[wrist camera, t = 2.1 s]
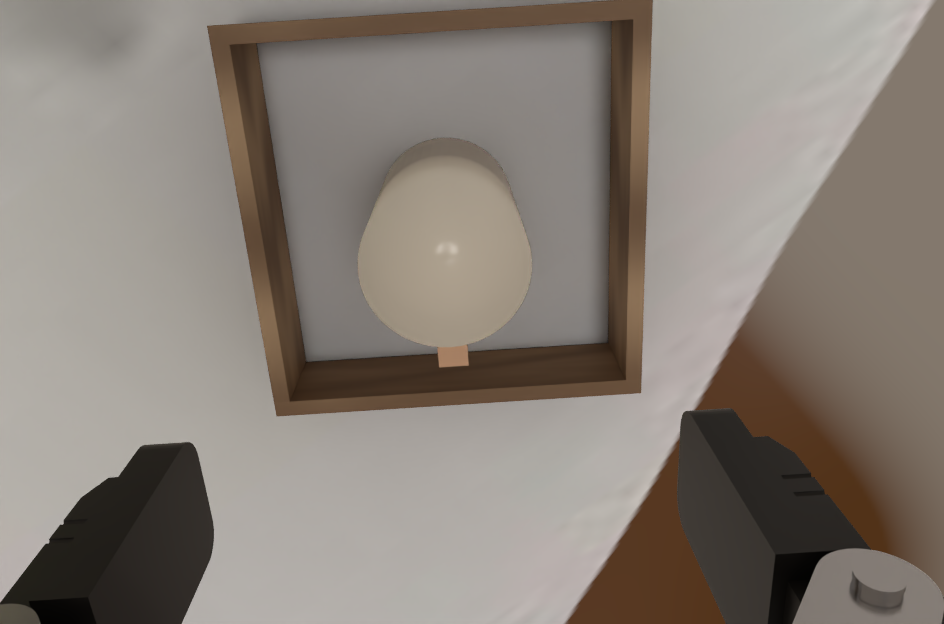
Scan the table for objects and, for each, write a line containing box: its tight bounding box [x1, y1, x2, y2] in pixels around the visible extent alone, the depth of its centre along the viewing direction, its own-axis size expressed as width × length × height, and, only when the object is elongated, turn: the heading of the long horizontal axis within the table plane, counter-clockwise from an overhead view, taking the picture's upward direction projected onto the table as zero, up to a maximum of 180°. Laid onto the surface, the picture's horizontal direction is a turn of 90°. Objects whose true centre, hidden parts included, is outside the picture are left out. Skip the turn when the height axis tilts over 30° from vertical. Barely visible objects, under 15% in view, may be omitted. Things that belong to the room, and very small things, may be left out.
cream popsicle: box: [357, 138, 532, 367], centre depth 26 cm, size 7×5×8 cm
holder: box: [207, 0, 653, 416], centre depth 28 cm, size 14×14×4 cm
